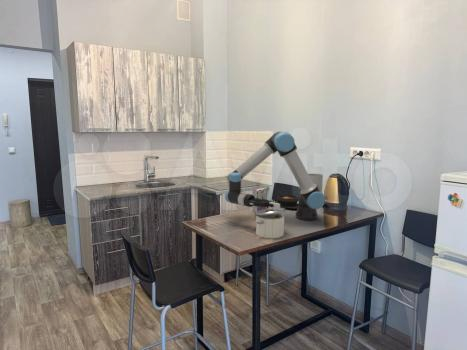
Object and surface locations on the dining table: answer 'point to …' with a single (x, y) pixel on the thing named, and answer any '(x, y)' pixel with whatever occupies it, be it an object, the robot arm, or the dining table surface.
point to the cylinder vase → (317, 180)
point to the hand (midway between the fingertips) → (279, 206)
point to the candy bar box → (260, 194)
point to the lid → (269, 211)
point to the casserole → (287, 201)
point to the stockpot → (270, 225)
